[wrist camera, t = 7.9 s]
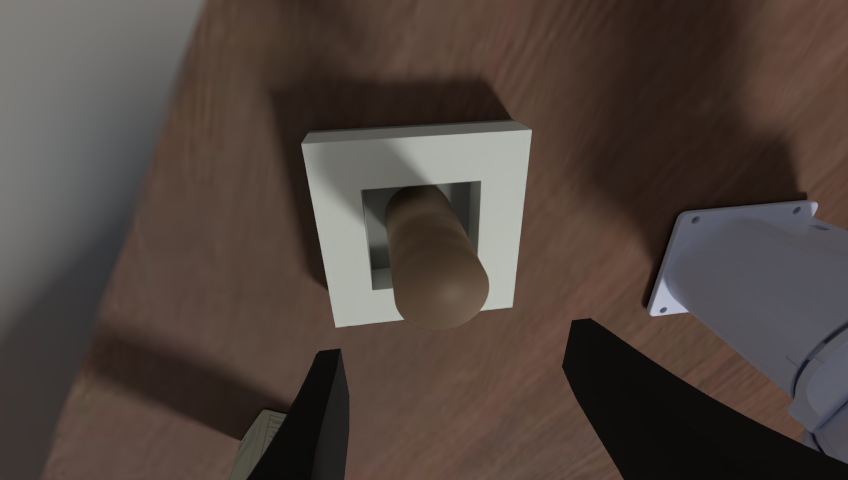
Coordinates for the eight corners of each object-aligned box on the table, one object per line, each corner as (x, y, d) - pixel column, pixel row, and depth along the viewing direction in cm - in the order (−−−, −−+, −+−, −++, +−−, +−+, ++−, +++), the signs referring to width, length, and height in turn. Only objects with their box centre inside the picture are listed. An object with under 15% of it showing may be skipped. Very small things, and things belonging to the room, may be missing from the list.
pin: (454, 184, 19) (496, 251, 13) (447, 244, 21) (481, 328, 15) (385, 183, 19) (395, 252, 13) (384, 245, 20) (392, 332, 14)
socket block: (512, 119, 19) (531, 129, 16) (498, 282, 23) (512, 306, 21) (309, 131, 17) (301, 143, 15) (338, 299, 22) (335, 327, 20)
